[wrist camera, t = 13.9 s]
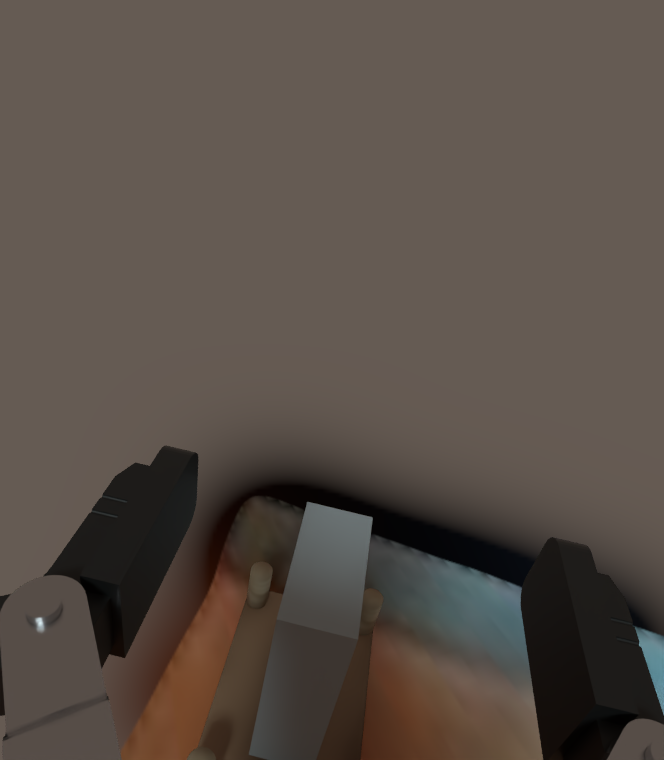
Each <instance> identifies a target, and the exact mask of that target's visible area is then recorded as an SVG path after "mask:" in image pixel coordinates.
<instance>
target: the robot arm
mask: <svg viewBox="0 0 664 760" xmlns="http://www.w3.org/2000/svg"><path fill="white" fill-rule="evenodd" d="M197 477H198V454H197V453H195V452H191V451H187V450H182V449H178V448H174V447H170V446H164V447H162V449H161V450H160V451H159V453H158V454H157V456H156V458H155V459H154V461H153V462H152V464H151V465H150V466H148V465H143V464H139V463H134V464H133V465H131V466H130V467H128V468H127V469H125V470H124V471H122V472H121V473H119V474H118V475H117V476H115V478H114V479H113V480H112V482H111V483H110V485H109V486H108V487H107V489H106V490H105V492H104V493H103V496H102V498H100V499H99V500H98V502H97V503H96V504H95V506H94V507H93V509H92V512H91V513H89V514H88V516H87V517H86V519H85V520H84V522H83V523H82V524H81V526H80V527H79V529H78V530H77V531H76V533H75V534H74V536H73V537H72V538H71V540H70V542H69V543H68V544H67V546H66V547H65V548H64V550H63V551H62V553H61V554H60V556H59V557H58V558H57V560H56V561H55V563H54V564H53V565H52V567H51V568H50V569H49V571H48V572H47V573H46V574H45V575H44V576H43V577H39V578H36V579H33V580H31V581H29V582H27V583H25V584H24V585H22V586H20V587H19V588H18V589H16V590H15V591H14V592H13V593H12V594H9V595H4V596H0V716H2V715H5V721H6V735H5V736H4V738H3V746H2V752H3V754H2V755H3V760H121V755H120V750H119V745H118V740H117V736H116V730H115V725H114V721H113V716H112V711H111V706H110V702H109V699H108V696H107V694H106V690H105V685H104V680H103V675H102V670H101V669H102V667H103V665H104V663H105V661H106V659H107V657H108V655H109V654H111V655H115V656H119V657H123V658H125V657H126V655H127V653H128V651H129V649H130V647H131V645H132V642H133V641H134V638H135V636H136V634H137V632H138V630H139V628H140V626H141V624H142V622H143V620H144V618H145V616H146V614H147V612H148V610H149V608H150V606H151V604H152V602H153V600H154V598H155V595H156V593H157V591H158V589H159V587H160V585H161V583H162V581H163V579H164V576H165V575H166V573H167V571H168V569H169V567H170V565H171V563H172V561H173V559H174V557H175V554H176V552H177V550H178V548H179V546H180V544H181V542H182V540H183V538H184V536H185V534H186V532H187V530H188V528H189V526H190V523H191V521H192V518H193V515H194V511H195V506H196V500H197ZM521 611H522V618H523V625H524V632H525V638H526V645H527V652H528V659H529V666H530V672H531V679H532V686H533V693H534V700H535V706H536V713H537V720H538V727H539V734H540V740H541V747H542V754H543V760H664V715H663V712H662V709H661V706H660V703H659V700H658V697H657V694H656V691H655V688H654V685H653V682H652V679H651V676H650V673H649V670H648V666H647V663H646V660H645V657H644V654H643V651H642V648H641V647H639V639H638V636H637V633H636V630H635V627H633V626H632V623H633V621H632V618H631V615H630V612H629V609H628V606H627V603H626V600H625V598H624V596H623V595H622V594H621V592H620V591H619V590H618V588H617V587H616V585H615V584H614V582H613V581H612V580H611V578H610V577H609V576H608V575H604V574H600V573H597V570H596V567H595V563H594V560H593V557H592V553H591V551H590V549H589V547H588V546H586V545H583V544H578V543H574V542H570V541H566V540H562V539H557V538H553V537H552V538H550V539H548V540H547V542H546V543H545V545H544V547H543V548H542V550H541V552H540V554H539V555H538V557H537V559H536V561H535V563H534V564H533V566H532V568H531V570H530V571H529V573H528V575H527V577H526V578H525V581H524V583H523V587H522V592H521Z"/></svg>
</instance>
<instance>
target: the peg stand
mask: <svg viewBox="0 0 664 760" xmlns="http://www.w3.org/2000/svg"><path fill="white" fill-rule="evenodd" d="M272 573H273V569H272V567H271V565H270V564H268V563H266V562H257V563H255V564H254V565H253V566H252V568H251V573H250V580H249V586H248V593H247V599H246V602H245V605H244V608H243V611H242V614H241V617H240V620H239V623H238V626H237V629H236V632H235V635H234V638H233V641H232V644H231V647H230V650H229V654H228V657H227V660H226V663H225V666H224V669H223V672H222V675H221V678H220V681H219V684H218V687H217V690H216V693H215V696H214V699H213V702H212V705H211V709H210V712H209V715H208V718H207V721H206V724H205V727H204V730H203V733H202V736H201V739H200V742H199V745H198V748H196V749H195V750H193V751H192V752H191V753H190V754H189V756H188V758H187V760H267V759H264V758H260V757H256V756H252V755H249V751H250V746H251V741H252V736H253V732H254V727H255V722H256V717H257V712H258V707H259V702H260V698H261V693H262V688H263V683H264V678H265V673H266V668H267V664H268V659H269V654H270V649H271V644H272V639H273V634H274V630H275V625H276V620H277V616H278V612H279V608H280V604H281V601H282V597H283V594H280V593H276V592H272V591H269V589H270V583H271V578H272ZM382 603H383V596H382V594H381V593H380V592H379V591H378V590H376V589H372V588H369V589H366V590H365V591H364V594H363V603H362V611H361V620H360V628H359V636H358V641H357V644H356V647H355V650H354V653H353V656H352V658H351V661H350V664H349V667H348V670H347V673H346V676H345V678H344V681H343V684H342V687H341V690H340V693H339V696H338V698H337V701H336V704H335V707H334V710H333V713H332V716H331V718H330V721H329V724H328V727H327V730H326V733H325V736H324V739H323V741H322V744H321V747H320V750H319V753H318V756H317V759H316V760H360V757H361V747H362V736H363V726H364V716H365V706H366V695H367V685H368V675H369V665H370V654H371V644H372V634H373V628H374V625H375V622H376V620H377V617H378V614H379V611H380V609H381V606H382Z"/></svg>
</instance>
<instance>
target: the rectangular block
mask: <svg viewBox="0 0 664 760" xmlns="http://www.w3.org/2000/svg"><path fill="white" fill-rule="evenodd" d="M372 519H373V518H372V517H368V516H364V515H360V514H356V513H352V512H347V511H343V510H339V509H335V508H331V507H327V506H323V505H319V504H314V503H310V502H307V506H306V509H305V513H304V517H303V521H302V525H301V528H300V532H299V536H298V540H297V544H296V547H295V551H294V555H293V559H292V563H291V566H290V570H289V574H288V578H287V582H286V585H285V589H284V593H283V597H282V601H281V604H280V608H279V612H278V616H277V620H276V625H275V630H274V634H273V639H272V644H271V649H270V654H269V659H268V664H267V668H266V673H265V678H264V683H263V688H262V693H261V698H260V702H259V707H258V712H257V717H256V722H255V727H254V732H253V736H252V741H251V746H250V751H249V755H252V756H256V757H260V758H264V759H267V760H316V759H317V756H318V753H319V750H320V747H321V744H322V741H323V739H324V736H325V733H326V730H327V727H328V724H329V721H330V718H331V716H332V713H333V710H334V707H335V704H336V701H337V698H338V696H339V693H340V690H341V687H342V684H343V681H344V678H345V676H346V673H347V670H348V667H349V664H350V661H351V658H352V656H353V653H354V650H355V647H356V644H357V641H358V636H359V628H360V620H361V611H362V603H363V594H364V586H365V578H366V569H367V561H368V552H369V544H370V536H371V526H372Z"/></svg>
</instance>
